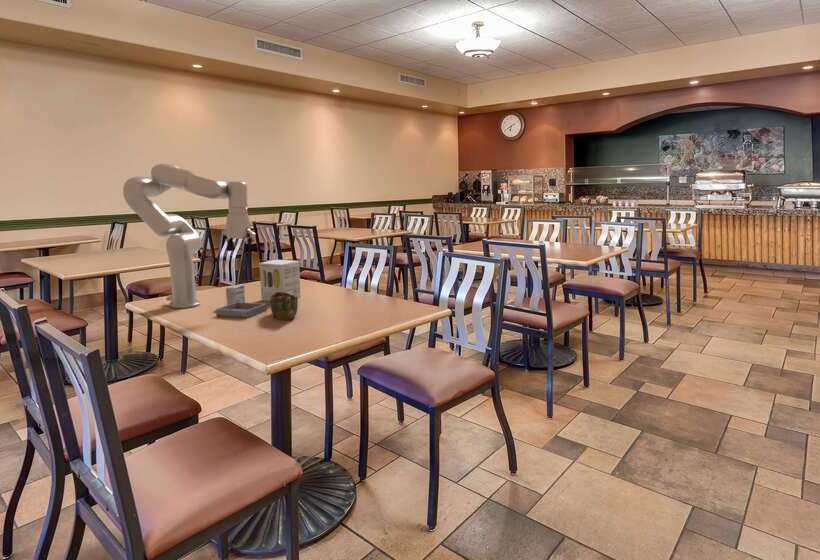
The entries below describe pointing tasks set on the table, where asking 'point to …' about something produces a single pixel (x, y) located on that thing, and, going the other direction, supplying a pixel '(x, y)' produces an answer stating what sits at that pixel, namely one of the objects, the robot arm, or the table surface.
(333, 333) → the table surface
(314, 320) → the table surface
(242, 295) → the medicine box
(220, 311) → the tray
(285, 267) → the supplement box
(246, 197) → the robot arm
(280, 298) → the cup
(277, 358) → the table surface
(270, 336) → the table surface
